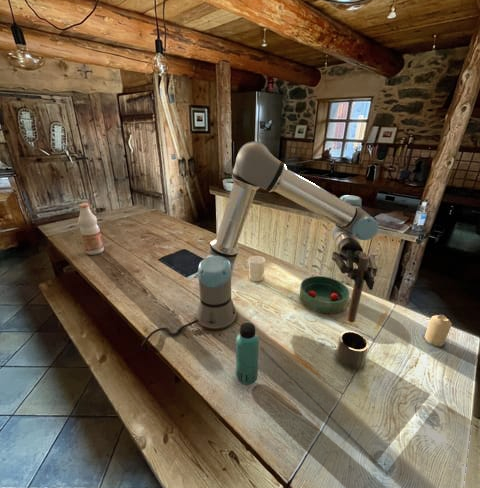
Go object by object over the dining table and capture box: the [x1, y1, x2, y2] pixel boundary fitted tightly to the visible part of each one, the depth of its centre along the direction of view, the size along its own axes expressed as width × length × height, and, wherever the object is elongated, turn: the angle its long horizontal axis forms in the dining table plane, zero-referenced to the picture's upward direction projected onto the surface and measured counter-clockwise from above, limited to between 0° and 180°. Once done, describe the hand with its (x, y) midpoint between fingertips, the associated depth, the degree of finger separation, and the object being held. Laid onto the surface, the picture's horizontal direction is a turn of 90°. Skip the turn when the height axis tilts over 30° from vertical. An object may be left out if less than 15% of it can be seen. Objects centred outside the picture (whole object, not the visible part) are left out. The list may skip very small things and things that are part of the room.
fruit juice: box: [77, 202, 105, 256], centre depth 148 cm, size 9×9×28 cm
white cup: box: [247, 255, 266, 282], centre depth 126 cm, size 8×8×10 cm
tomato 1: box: [309, 291, 316, 298], centre depth 112 cm, size 3×3×3 cm
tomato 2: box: [331, 293, 338, 301], centre depth 111 cm, size 3×3×3 cm
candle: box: [424, 314, 453, 347], centre depth 90 cm, size 6×6×10 cm
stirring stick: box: [346, 255, 369, 323], centre depth 78 cm, size 2×2×22 cm
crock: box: [335, 330, 370, 370], centre depth 83 cm, size 8×8×8 cm
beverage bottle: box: [235, 322, 260, 386], centre depth 73 cm, size 6×7×20 cm
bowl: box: [299, 275, 350, 315], centre depth 111 cm, size 19×19×6 cm
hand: (365, 285), depth 71 cm, fingers closed on stirring stick, 2 cm apart
